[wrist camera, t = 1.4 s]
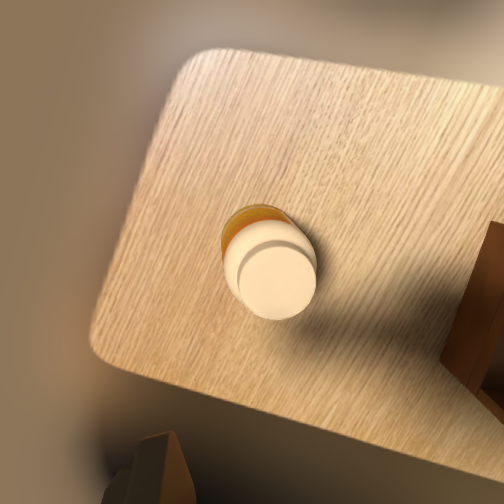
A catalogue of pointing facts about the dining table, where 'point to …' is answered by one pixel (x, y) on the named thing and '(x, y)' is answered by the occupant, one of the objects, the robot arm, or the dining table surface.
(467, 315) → the wooden divided tray
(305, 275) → the supplement bottle
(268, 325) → the dining table surface
